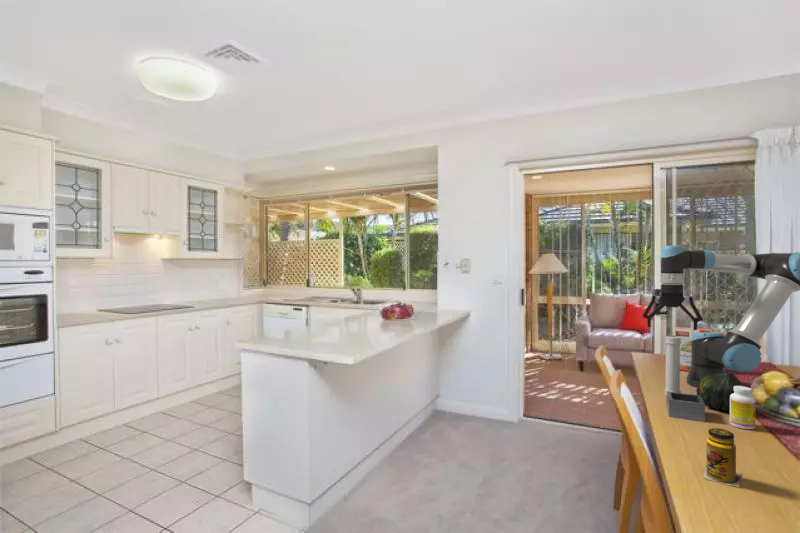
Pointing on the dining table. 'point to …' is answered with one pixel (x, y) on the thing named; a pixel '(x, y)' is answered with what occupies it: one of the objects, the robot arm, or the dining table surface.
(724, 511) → the dining table surface
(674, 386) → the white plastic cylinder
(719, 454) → the condiment
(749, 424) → the supplement bottle
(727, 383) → the squash
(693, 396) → the collar
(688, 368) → the cracker box
